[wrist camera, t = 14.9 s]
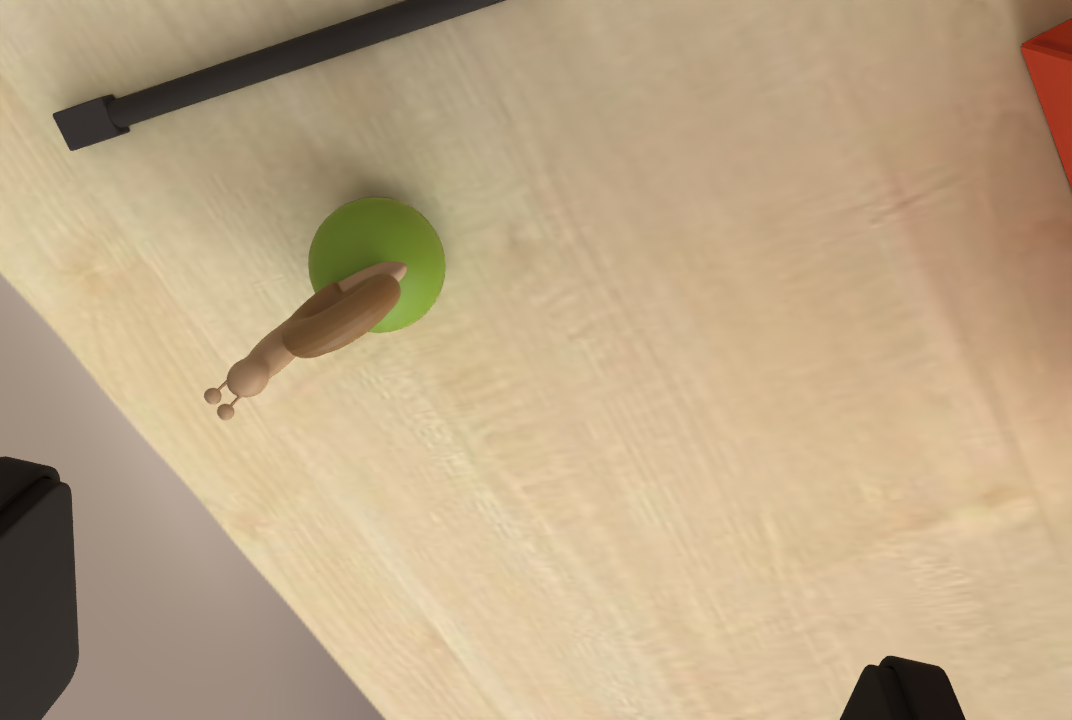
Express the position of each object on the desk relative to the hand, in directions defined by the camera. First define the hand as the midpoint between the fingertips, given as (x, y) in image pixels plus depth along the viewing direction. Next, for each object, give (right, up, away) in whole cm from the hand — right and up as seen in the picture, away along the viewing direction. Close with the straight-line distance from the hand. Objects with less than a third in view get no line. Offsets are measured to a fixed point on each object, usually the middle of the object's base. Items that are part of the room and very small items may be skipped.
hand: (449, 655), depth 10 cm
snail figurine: (-5, +8, +28) cm, 30 cm away
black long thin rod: (-8, +16, +25) cm, 31 cm away
